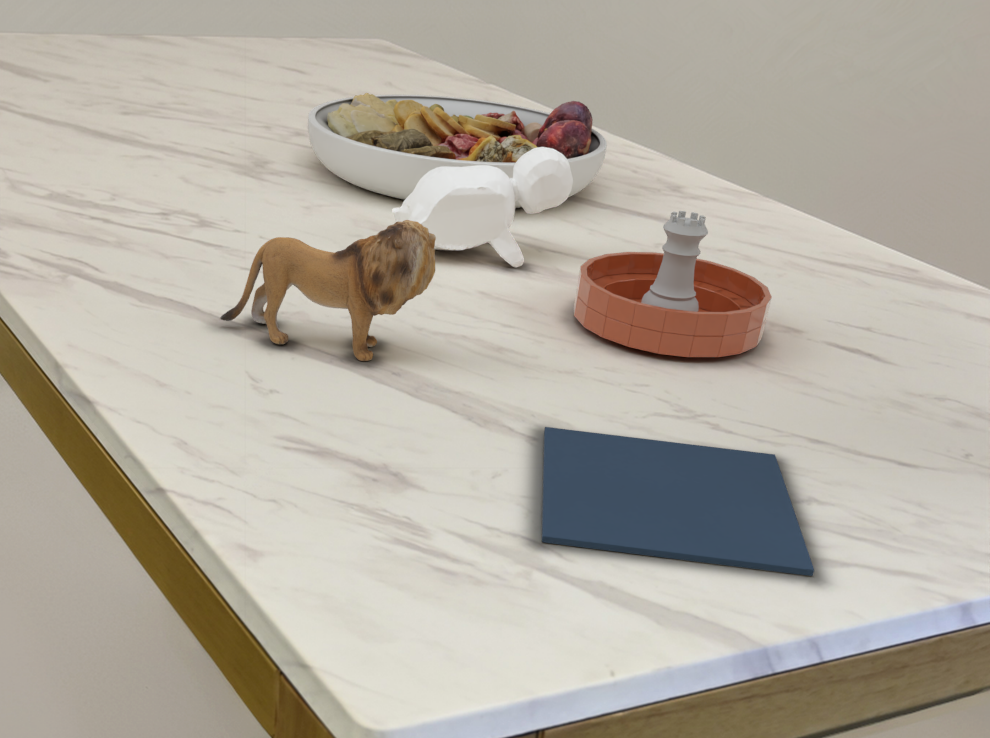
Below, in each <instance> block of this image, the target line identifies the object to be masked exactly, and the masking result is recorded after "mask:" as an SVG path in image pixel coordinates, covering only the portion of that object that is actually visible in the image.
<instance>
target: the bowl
mask: <svg viewBox="0 0 990 738" xmlns="http://www.w3.org/2000/svg"><path fill="white" fill-rule="evenodd" d="M307 134H308V140H309V143H310V146H311V149H312V151H313V152H314V154H315V156H316V158H317V159H318V160H319V161H320V163H321V164H322V165H323V166H324V167H325V168H326V169H327V170H329V172H330V173H331V172H332V174H334V175H335V176H337V177H338V178H340V179H342V180H344V181H345V182H348V183H350V184H352V185H354V186H356V187H359V188H361V189H364V190H367V191H370V192H373V193H377V194H379V195H384V196H388V197H392V198H396V199H401V200H405V199H406V198H407V197H408V196H409V195H410V194H411V193H412V192H413V190H414V189H415V187H416V185H417V183H418V182H419V180H420V179H421V178H422V177H423V176H424V175H425V174H426V173H428V172H429V171H430V170H432V169H435V168H437V167H442V166H447V167H464V166H475V165H489V166H493V167H497V168H499V169H501V170H502V171H503V172H504V173H505V174H506V175H507V176H508V177H509V179H510V178H513V168H514V165H515V163H516V162H517V160H518V159H519V158H520V157H521V156H522V155H523V154H525V153H526V152H528V151H530V150H532V149H534V148H537V147H547V148H552V149H555V150H557V151H558V152H560V153H562V154H563V155H564V156H565V157H566V158H567V160H568V162H569V165H570V169H571V173H572V178H573V184H572V188H571V192H570V194H569V196H568V198H570V197H572V196H574V195H576V194H578V193H580V192H581V191H582V190H584V189H585V188H586V187H588V186H589V185H590V184H591V183H592V182H593V180H595V178H596V177H597V175H598V174H599V172H600V171H601V168H603V167H602V166H603V165H604V161H605V157H606V153H607V146H608V143H607V140H606V138H605V137H604V136H603V135H602V134H601V133H600V132H598V131H597V130H596V129H594V128H593V115H592V112H591V111H590V109H589V107H588V105H585V104H584V103H583V102H580V101H576V100H571V101H567V102H563V103H561V104H560V105H558V106H557V107H555V108H554V109H553V110H551V112H548V111H543V110H539V109H535V108H531V107H526V106H521V105H516V104H511V103H504V102H497V101H491V100H483V99H477V98H468V97H467V98H466V97H456V96H448V95H447V96H445V95H431V94H429V95H428V94H373V93H369V92H365V93H364V94H358V95H354V96H350V97H349V96H348V97H342V98H337V99H332V100H328V101H326V102H323V103H320V104H318V105H316V106H314V107H313V108H312V109H311V110H309V112H308V115H307ZM519 208H522V206H521V204H520V203H519V202H518V200H517V201H516V202H515V209H519Z"/></svg>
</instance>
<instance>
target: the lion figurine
mask: <svg viewBox="0 0 990 738" xmlns="http://www.w3.org/2000/svg"><path fill="white" fill-rule="evenodd" d="M435 240H436V236H435V235H434V234H431V233H429V231H428V228H426V227H424V226H423V225H422V224H420V223H419V222H415V221H410V220H405V221H403V222H396V221H395V222H394V223H393V224H390V225H387V227H386V228H385V229H382V230H380V231H379V232H378V233H377V234H373V235H369V236H368V237H366V238H360V239H357V240H355V241H353V242H352V243H351V244H349V245H348V246H346V247H345V248H344V249H341V250H338V251H335V252H334V251H333V252H332V251H327V250H323V249H320V248H316V247H313V246H310V244H308V243H306V242H304V241H302V240H300V239H297V238H295V237H284V236H282V237H281V236H277V237H274V238H271V239H269V240H267V241H266V242H264V243H263V244H262V246H260V248H259V249H258V251H257V252H256V254H255V256H254V258H253V260H252V263H251V266H250V269H249V273H248V276H247V279H246V283H245V286H244V289H243V292H242V295H241V298H240V300H239V301H238V302H237V304H236V305H235V306H234V307H233V308H231V309H229V310H227V311H226V312H225V313H223V314H222V315H221V316H220V318H219V319H220V320H221V321H226V322H230V321H231V322H232V321H233V320H235V319H236V318H237V317H238V316H240V314H241V313H242V312H243V310H244V308H245V307H246V305H247V303H248V301H249V299H250V297H251V294H252V292H253V290H254V287H255V284H256V282H257V278H258V276H259V274H260V271H261V269H262V278H263V284H261V285H260V286H259V287H258V288H256V290H255V291H254V295H253V301H252V304H251V310H250V311H251V312H250V313H251V318H252V320H253V321H254V322H256V323H259V324H263V325H264V324H265V325H266V327H267V330H268V337H269V339H270V341H271V342H272V343H274V344H276V345H285V344H286V343H288V342H289V339H290V338H289V334H287V333H286V332H283V331H281V330H280V328H279V324H278V313H279V310H280V308H281V305H282V304H283V301H284V298H285V296H286V294H287V291H288V290H289V289H290V288H291V287H293V286H294V287H295V288H297V289H298V290H299V291H300V292H301V293H302V294H303V296H305V298H307V300H310V301H311V302H313V303H314V304H317V305H319V306H321V307H325V308H330V309H340V310H348V313H349V316H350V320H351V332H352V333H351V334H352V339H351V340H352V341H351V344H352V352H353V355H354V357H355V358H356V359H357V360H358V361H361V362H369V361H371V360H373V358H374V357H373V356H374V352H373V351H372V350H370V349H369V348H373V347H375V346H377V344H378V340H377V338H376V337H375V336H374V335H369V331H370V327H371V324H372V322H373V318H374V317H376V316H378V315H379V316H383V315H389V316H394V315H396V314H397V312H398V311H400V310H401V309H402V306H404V305H406V303H407V302H408V301H411V300H413V299H414V298H416V297H417V296H420V295H422V294H423V293H424V292H425V291H426V290H427V289H428V287H429V285H430V283H431V282H432V280H433V278H434V275H435V273H436V255H435V253H436V250H435V249H434V246H435ZM265 305H266V306H265ZM264 307H266V308H265V309H264Z"/></svg>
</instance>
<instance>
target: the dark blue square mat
mask: <svg viewBox="0 0 990 738" xmlns="http://www.w3.org/2000/svg"><path fill="white" fill-rule="evenodd" d="M542 469H543V471H542V474H543V475H542V511H541V512H542V513H541V514H542V515H541V516H542V517H541V543H545V544H551V545H552V544H553V545H561V546H568V547H576V548H583V549H584V548H585V549H592V550H602V551H609V552H616V553H617V552H618V553H625V554H632V555H633V554H634V555H641V556H649V557H657V558H662V559H663V558H664V559H672V560H680V561H689V562H696V563H697V562H698V563H704V564H712V565H720V566H727V567H736V568H745V569H751V570H759V571H766V572H767V571H769V572H775V573H784V574H791V575H798V576H799V575H800V576H806V577H813V576H814V572H815V569H814V568H815V567H814V565H813V562H812V559H811V556H810V554H809V550H808V547H807V543H806V541H805V538H804V535H803V533H802V530H801V527H800V524H799V520H798V518H797V515H796V512H795V509H794V505H793V504H792V501H791V498H790V495H789V491H788V489H787V486H786V483H785V480H784V476H783V474H782V471H781V468H780V465H779V463H778V459H777V456H776V454H774V453H766V452H757V451H751V450H750V451H748V450H740V449H731V448H724V447H716V446H707V445H699V444H690V443H683V442H673V441H666V440H658V439H649V438H641V437H632V436H626V435H625V436H624V435H616V434H607V433H600V432H592V431H591V432H590V431H583V430H575V429H565V428H557V427H549V426H545V427H544V431H543V468H542Z"/></svg>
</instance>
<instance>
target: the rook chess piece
mask: <svg viewBox="0 0 990 738" xmlns="http://www.w3.org/2000/svg"><path fill="white" fill-rule="evenodd" d="M686 214H687V211H686V210H679V211H678V212H677V211H671V213H670V215H669V216H670V217H669V219H668V220H667V221H666V222H665V223H664V224H662V228H663V231H664V233H665V236H666V237H667V238H666V241H665V243H664V244H663V245H662V246H661V249H662V251H663V253H664V255H663V260H662V263H661V266H660V269H659V272H658V275H657V277H656V279H655V281H654V283H653V285H651V286H650V290H649V291H648V292H647V293H645V294H644V296H643V298H642V301H641V303H644V304H649V305H654V306H658V307H663V308H668V309H676V310H685V311H694V312H698V310H699V305H698V301H697V299H696V298H695V296H696V292H695V291H694V269H695V263H696V258H697V259H698V257H699V256H700V255H701V249H700V248H699V247H700V243H701V241H702V240H703V239H704V238H705V237H706V236H707V235H708V234H709V230H708V228H707V226H706V219H707V218H706V216H704V215H703V214H702V215H701V214H700V215H699V213H698V212H695V211H694V212H693V211H691V213H690V217H686Z"/></svg>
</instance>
